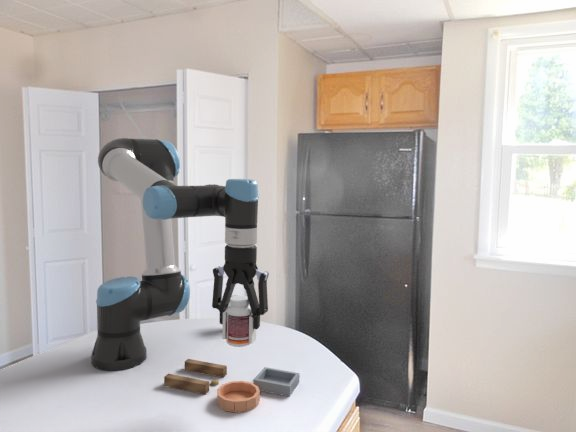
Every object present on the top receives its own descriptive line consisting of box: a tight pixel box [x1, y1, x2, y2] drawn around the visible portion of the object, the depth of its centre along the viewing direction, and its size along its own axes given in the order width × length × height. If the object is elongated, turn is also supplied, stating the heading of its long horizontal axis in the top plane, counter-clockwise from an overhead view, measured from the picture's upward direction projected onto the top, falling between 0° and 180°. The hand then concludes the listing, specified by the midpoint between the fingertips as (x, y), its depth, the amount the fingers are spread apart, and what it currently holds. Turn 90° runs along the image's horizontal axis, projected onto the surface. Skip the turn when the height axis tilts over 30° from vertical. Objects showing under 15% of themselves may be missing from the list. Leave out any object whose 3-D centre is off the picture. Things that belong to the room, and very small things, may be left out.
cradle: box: [163, 358, 228, 395], centre depth 125 cm, size 12×12×2 cm
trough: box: [252, 366, 301, 397], centre depth 123 cm, size 10×8×3 cm
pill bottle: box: [225, 295, 252, 348], centre depth 112 cm, size 6×6×11 cm
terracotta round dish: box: [216, 380, 261, 413], centre depth 115 cm, size 10×10×3 cm
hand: (239, 339), depth 113 cm, fingers closed on pill bottle, 6 cm apart
